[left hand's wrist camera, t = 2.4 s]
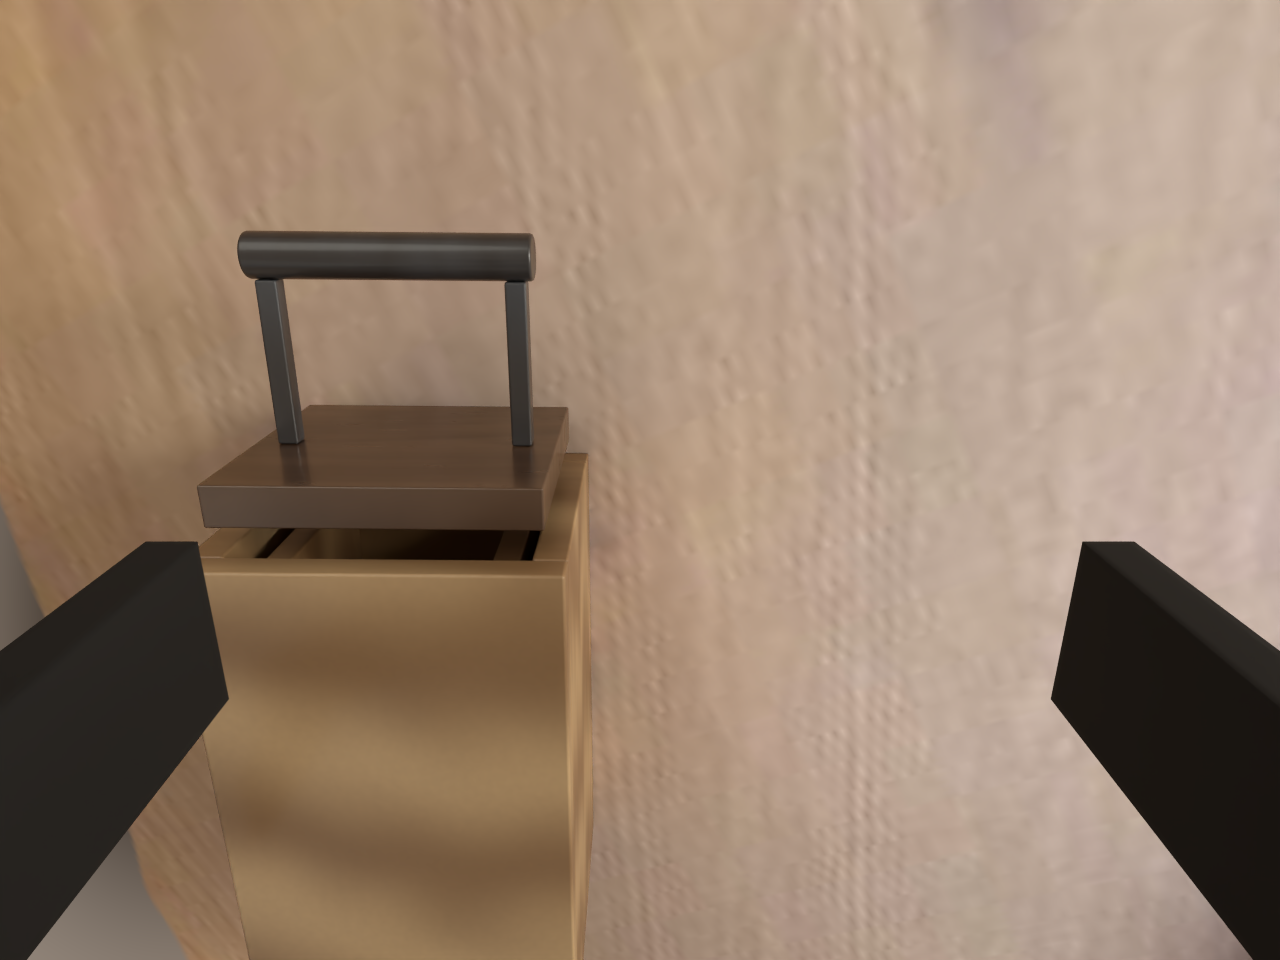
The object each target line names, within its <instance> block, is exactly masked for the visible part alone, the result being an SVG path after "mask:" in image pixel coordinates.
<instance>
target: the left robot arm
mask: <svg viewBox="0 0 1280 960" xmlns="http://www.w3.org/2000/svg"><path fill="white" fill-rule="evenodd" d="M228 700H229V696H228V691H227V686H226V681H225V676H224V671H223V666H222V661H221V656H220V651H219V646H218V641H217V636H216V631H215V626H214V621H213V616H212V612H211V607H210V602H209V597H208V592H207V587H206V582H205V577H204V572H203V567H202V562H201V557H200V552H199V547H198V542H145V543H143V544H142V545H141V546H139V547H138V548H137V549H135V550H134V551H133V552H131V553H130V554H129V555H127V556H126V557H125V558H123V559H122V560H121V561H119V562H118V563H117V564H115V565H114V566H113V567H111V568H110V569H109V570H107V571H106V572H105V573H103V574H102V575H101V576H99V577H98V578H97V579H95V580H94V581H93V582H91V583H90V584H89V585H87V586H86V587H85V588H83V589H82V590H81V591H79V592H78V593H77V594H75V595H74V596H73V597H72V598H70V599H69V600H68V601H66V602H65V603H64V604H62V605H61V606H60V607H58V608H57V609H56V610H54V611H53V612H52V613H50V614H49V615H48V616H46V617H45V618H44V619H42V620H41V621H40V622H38V623H37V624H36V625H34V626H33V627H32V628H30V629H29V630H28V631H26V632H25V633H24V634H22V635H21V636H20V637H18V638H17V639H16V640H14V641H13V642H12V643H10V644H9V645H8V646H6V647H5V648H4V649H2V650H1V651H0V960H27V959H28V957H29V956H30V955H31V954H32V952H33V951H34V950H35V948H36V947H37V946H38V944H39V943H40V942H41V941H42V939H43V938H44V937H45V936H46V934H47V933H48V932H49V930H50V929H51V928H52V927H53V925H54V924H55V923H56V921H57V920H58V919H59V918H60V916H61V915H62V914H63V912H64V911H65V910H66V909H67V907H68V906H69V905H70V903H71V902H72V901H73V899H74V898H75V897H76V896H77V894H78V893H79V892H80V890H81V889H82V888H83V887H84V885H85V884H86V883H87V881H88V880H89V879H90V878H91V876H92V875H93V874H94V872H95V871H96V870H97V869H98V867H99V866H100V865H101V863H102V862H103V861H104V860H105V858H106V857H107V856H108V854H109V853H110V852H111V851H112V849H113V848H114V847H115V845H116V844H117V843H118V842H119V840H120V839H121V838H122V836H123V835H124V834H125V833H126V831H127V830H128V829H129V827H130V826H131V825H132V824H133V822H134V821H135V820H136V818H137V817H138V816H139V815H140V813H141V812H142V811H143V809H144V808H145V807H146V806H147V804H148V803H149V802H150V800H151V799H152V798H153V796H154V795H155V794H156V793H157V791H158V790H159V789H160V787H161V786H162V785H163V784H164V782H165V781H166V780H167V778H168V777H169V776H170V775H171V773H172V772H173V771H174V769H175V768H176V767H177V766H178V764H179V763H180V762H181V760H182V759H183V758H184V757H185V755H186V754H187V753H188V751H189V750H190V749H191V748H192V746H193V745H194V744H195V742H196V741H197V740H198V739H199V737H200V736H201V735H202V733H203V732H204V731H205V730H206V728H207V727H208V726H209V724H210V723H211V722H212V721H213V719H214V718H215V717H216V715H217V714H218V713H219V712H220V710H221V709H222V708H223V706H224V705H225V704H226V702H227V701H228ZM1051 700H1052V701H1053V702H1054V704H1055V705H1056V706H1057V708H1058V709H1059V710H1060V712H1061V713H1062V714H1063V715H1064V717H1065V718H1066V719H1067V721H1068V722H1069V723H1070V724H1071V726H1072V727H1073V728H1074V730H1075V731H1076V732H1077V733H1078V735H1079V736H1080V737H1081V739H1082V740H1083V741H1084V742H1085V744H1086V745H1087V746H1088V748H1089V749H1090V750H1091V751H1092V753H1093V754H1094V755H1095V757H1096V758H1097V759H1098V760H1099V762H1100V763H1101V764H1102V766H1103V767H1104V768H1105V769H1106V771H1107V772H1108V773H1109V775H1110V776H1111V777H1112V778H1113V780H1114V781H1115V782H1116V784H1117V785H1118V786H1119V787H1120V789H1121V790H1122V791H1123V793H1124V794H1125V795H1126V796H1127V798H1128V799H1129V800H1130V802H1131V803H1132V804H1133V806H1134V807H1135V808H1136V809H1137V811H1138V812H1139V813H1140V815H1141V816H1142V817H1143V818H1144V820H1145V821H1146V822H1147V824H1148V825H1149V826H1150V827H1151V829H1152V830H1153V831H1154V833H1155V834H1156V835H1157V836H1158V838H1159V839H1160V840H1161V842H1162V843H1163V844H1164V845H1165V847H1166V848H1167V849H1168V851H1169V852H1170V853H1171V854H1172V856H1173V857H1174V858H1175V860H1176V861H1177V862H1178V863H1179V865H1180V866H1181V867H1182V869H1183V870H1184V871H1185V872H1186V874H1187V875H1188V876H1189V878H1190V879H1191V880H1192V881H1193V883H1194V884H1195V885H1196V887H1197V888H1198V889H1199V890H1200V892H1201V893H1202V894H1203V896H1204V897H1205V898H1206V899H1207V901H1208V902H1209V903H1210V905H1211V906H1212V907H1213V909H1214V910H1215V911H1216V912H1217V914H1218V915H1219V916H1220V918H1221V919H1222V920H1223V921H1224V923H1225V924H1226V925H1227V927H1228V928H1229V929H1230V930H1231V932H1232V933H1233V934H1234V936H1235V937H1236V938H1237V939H1238V941H1239V942H1240V943H1241V945H1242V946H1243V947H1244V948H1245V950H1246V951H1247V952H1248V954H1249V955H1250V956H1251V957H1252V959H1253V960H1280V651H1279V650H1278V649H1276V648H1275V647H1274V646H1272V645H1271V644H1270V643H1268V642H1267V641H1266V640H1264V639H1263V638H1262V637H1260V636H1259V635H1258V634H1256V633H1255V632H1254V631H1252V630H1251V629H1250V628H1248V627H1247V626H1246V625H1244V624H1243V623H1242V622H1240V621H1239V620H1238V619H1236V618H1235V617H1234V616H1232V615H1231V614H1230V613H1228V612H1227V611H1226V610H1224V609H1223V608H1222V607H1220V606H1219V605H1218V604H1216V603H1215V602H1214V601H1212V600H1211V599H1210V598H1208V597H1207V596H1206V595H1205V594H1203V593H1202V592H1201V591H1199V590H1198V589H1197V588H1195V587H1194V586H1193V585H1191V584H1190V583H1189V582H1187V581H1186V580H1185V579H1183V578H1182V577H1181V576H1179V575H1178V574H1177V573H1175V572H1174V571H1173V570H1171V569H1170V568H1169V567H1167V566H1166V565H1165V564H1163V563H1162V562H1161V561H1159V560H1158V559H1157V558H1155V557H1154V556H1153V555H1151V554H1150V553H1149V552H1147V551H1146V550H1145V549H1143V548H1142V547H1141V546H1139V545H1138V544H1137V543H1135V542H1082V547H1081V552H1080V557H1079V562H1078V567H1077V572H1076V577H1075V582H1074V587H1073V592H1072V597H1071V602H1070V607H1069V612H1068V616H1067V621H1066V626H1065V631H1064V636H1063V641H1062V646H1061V651H1060V656H1059V661H1058V666H1057V671H1056V676H1055V681H1054V686H1053V691H1052V696H1051Z"/></svg>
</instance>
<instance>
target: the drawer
mask: <svg viewBox="0 0 1280 960" xmlns="http://www.w3.org/2000/svg"><path fill="white" fill-rule="evenodd" d="M237 252H238V260H239V264H240V267H241V269H242V271H243V273H244V274H245V275H246V276H247V277H249V278H251V279H258V280H255V287H256V294H257V300H258V307H259V314H260V320H261V327H262V334H263V341H264V347H265V354H266V361H267V367H268V374H269V381H270V388H271V394H272V401H273V408H274V414H275V421H276V428H277V429H276V430H275V431H273V432H272V433H270V434H269V435H268V436H266V437H265V438H263V439H262V440H261V441H259V442H258V443H256V444H255V445H254V446H252V447H251V448H249V449H248V450H247V451H245V452H244V453H242V454H241V455H240V456H238V457H237V458H235V459H234V460H233V461H231V462H230V463H228V464H227V465H226V466H224V467H223V468H221V469H220V470H219V471H217V472H216V473H214V474H213V475H212V476H210V477H209V478H207V479H206V480H205V481H203V482H202V483H200V484H199V485H198V486H197V490H198V495H199V500H200V505H201V511H202V516H203V521H204V526H205V527H206V528H295V530H294V531H293V532H292V533H291V534H290V535H289V536H288V537H287V538H286V539H285V540H284V541H283V542H282V543H281V544H280V545H279V546H278V547H277V548H276V549H275V550H274V551H273V552H272V553H271V554H270V556H269V557H268V558H271V559H383V560H494V561H532V560H533V557H534V553H535V549H536V546H537V542H538V539H539V535H540V531H543V530H544V529H545V526H546V522H547V519H548V515H549V511H550V508H551V504H552V500H553V496H554V493H555V489H556V485H557V482H558V478H559V474H560V470H561V467H562V463H563V459H564V456H565V452H566V448H567V444H568V441H569V419H568V408H567V407H533V397H532V370H531V343H530V316H529V289H528V281H533V280H534V278H535V273H536V249H535V240H534V237H533V235H532V234H530V233H433V232H326V231H245V232H243V233H242V234H241V235H240V237H239V240H238V247H237ZM283 279H332V280H439V281H507V282H506V283H505V306H506V327H507V349H508V370H509V391H510V407H467V406H358V405H310V406H308V407H307V408H305V409H304V410H303V411H301V407H300V400H299V392H298V385H297V378H296V370H295V363H294V356H293V349H292V341H291V334H290V327H289V319H288V312H287V305H286V298H285V290H284V283H283Z"/></svg>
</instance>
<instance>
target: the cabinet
mask: <svg viewBox="0 0 1280 960" xmlns="http://www.w3.org/2000/svg"><path fill="white" fill-rule="evenodd" d="M294 530H295V528H221V529H219V530H218V531H217V532H216V533H215V534H214V535H212V536H211V537H210V538H209V539H208V540H207V541H205V542H204V543H203V544H202V545H201V546H200V547H199V552H200V557H201V562H202V567H203V572H204V577H205V582H206V587H207V592H208V597H209V602H210V607H211V612H212V616H213V621H214V626H215V631H216V636H217V641H218V646H219V651H220V656H221V661H222V666H223V671H224V676H225V681H226V686H227V691H228V696H229V700H228V701H227V702H226V704H225V705H224V706H223V708H222V709H221V710H220V712H219V713H218V714H217V715H216V717H215V718H214V719H213V721H212V722H211V723H210V724H209V726H208V727H207V728H206V730H205V731H204V732H203V733H202V735H203V740H204V745H205V750H206V754H207V759H208V764H209V769H210V774H211V778H212V783H213V788H214V793H215V797H216V802H217V807H218V812H219V817H220V821H221V826H222V831H223V836H224V840H225V845H226V850H227V855H228V860H229V864H230V869H231V874H232V879H233V884H234V888H235V893H236V898H237V903H238V907H239V912H240V917H241V922H242V927H243V931H244V936H245V941H246V946H247V950H248V955H249V960H583V955H584V942H585V928H586V915H587V901H588V888H589V874H590V861H591V847H592V834H593V778H592V703H591V629H590V555H589V480H588V454H584V453H565V456H564V459H563V463H562V467H561V470H560V474H559V478H558V482H557V485H556V489H555V493H554V496H553V500H552V504H551V508H550V511H549V515H548V519H547V522H546V526H545V529H544V530H543V531H540V535H539V539H538V542H537V546H536V549H535V553H534V557H533V560H532V561H494V560H383V559H271V558H268V557H269V556H270V554H271V553H272V552H273V551H274V550H275V549H276V548H277V547H278V546H279V545H280V544H281V543H282V542H283V541H284V540H285V539H286V538H287V537H288V536H289V535H290V534H291V533H292V532H293V531H294Z"/></svg>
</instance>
